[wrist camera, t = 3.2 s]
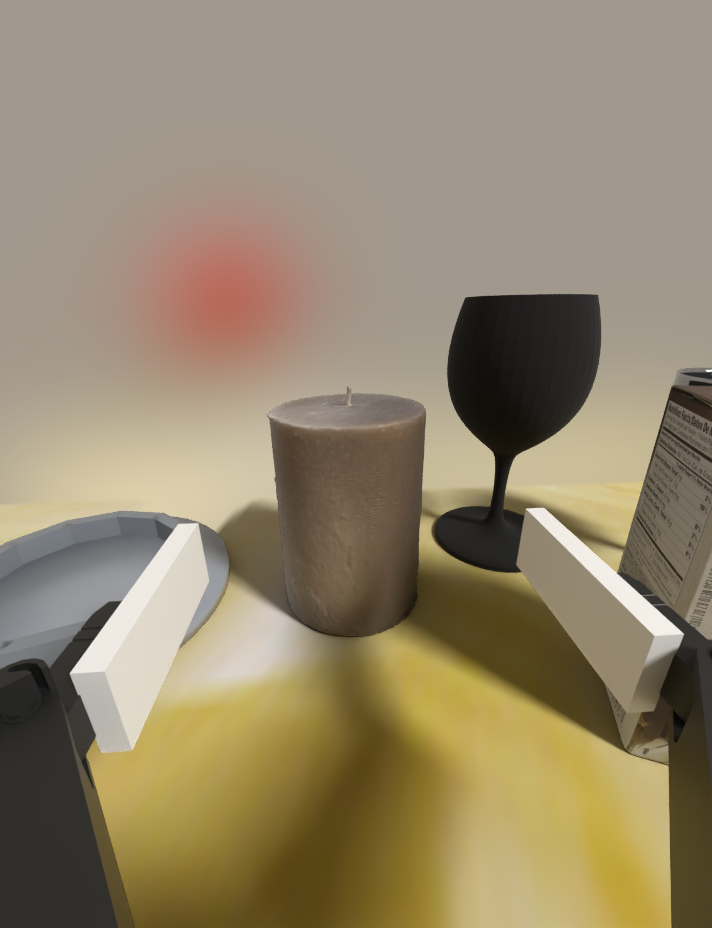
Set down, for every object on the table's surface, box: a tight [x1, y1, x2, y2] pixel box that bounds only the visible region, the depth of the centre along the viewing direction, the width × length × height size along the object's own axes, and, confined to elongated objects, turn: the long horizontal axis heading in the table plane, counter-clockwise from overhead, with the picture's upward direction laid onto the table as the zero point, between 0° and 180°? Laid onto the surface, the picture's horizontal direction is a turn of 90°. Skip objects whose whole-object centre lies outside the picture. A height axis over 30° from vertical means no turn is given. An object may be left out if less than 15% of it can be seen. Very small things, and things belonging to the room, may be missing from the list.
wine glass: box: [435, 294, 601, 572], centre depth 31 cm, size 10×10×20 cm
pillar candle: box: [267, 386, 426, 636], centre depth 26 cm, size 10×10×15 cm
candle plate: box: [0, 511, 230, 669], centre depth 27 cm, size 20×20×3 cm
